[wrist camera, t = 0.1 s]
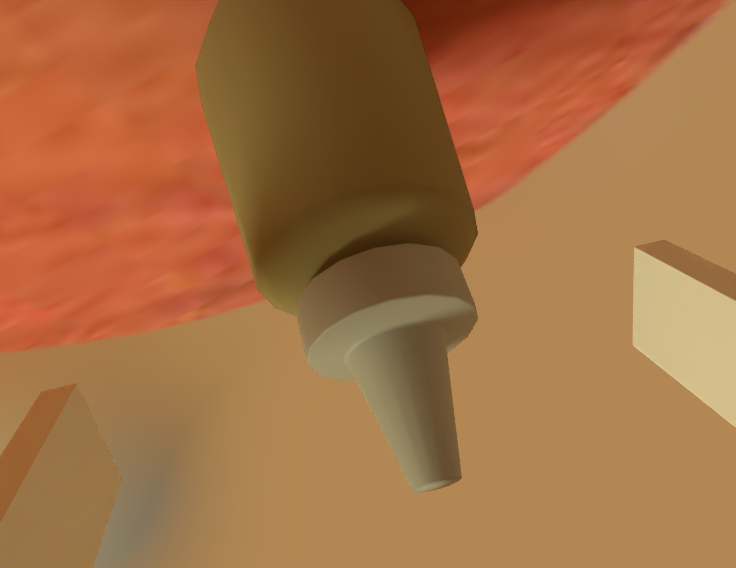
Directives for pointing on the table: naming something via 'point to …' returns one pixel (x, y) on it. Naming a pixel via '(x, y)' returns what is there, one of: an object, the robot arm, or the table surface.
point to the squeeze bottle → (349, 202)
